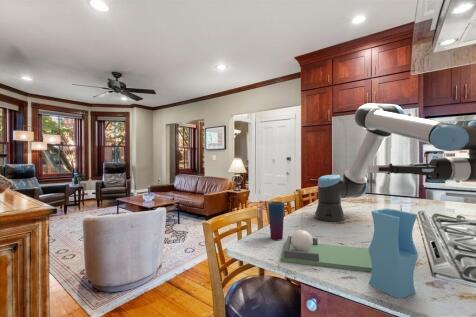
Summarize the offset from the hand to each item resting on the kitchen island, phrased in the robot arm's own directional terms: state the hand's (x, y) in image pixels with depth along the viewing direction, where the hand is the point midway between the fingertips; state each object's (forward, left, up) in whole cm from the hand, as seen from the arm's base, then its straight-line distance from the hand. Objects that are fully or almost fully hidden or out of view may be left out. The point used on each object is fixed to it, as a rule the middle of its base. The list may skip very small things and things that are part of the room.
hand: (367, 168), depth 85 cm
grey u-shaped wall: (+23, -7, -29) cm, 37 cm away
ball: (+24, -7, -25) cm, 35 cm away
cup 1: (+24, -25, -30) cm, 46 cm away
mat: (+15, -1, -30) cm, 33 cm away
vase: (+14, +19, -30) cm, 38 cm away
